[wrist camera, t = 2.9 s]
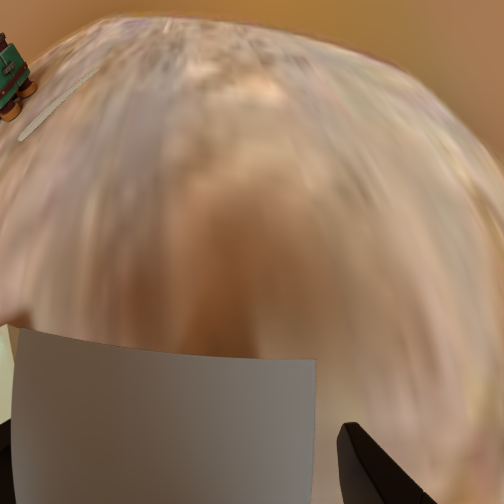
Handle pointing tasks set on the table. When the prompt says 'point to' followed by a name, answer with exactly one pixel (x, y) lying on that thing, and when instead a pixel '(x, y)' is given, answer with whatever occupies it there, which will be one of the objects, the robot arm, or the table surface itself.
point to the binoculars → (12, 80)
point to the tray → (7, 368)
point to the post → (158, 426)
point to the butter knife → (52, 107)
